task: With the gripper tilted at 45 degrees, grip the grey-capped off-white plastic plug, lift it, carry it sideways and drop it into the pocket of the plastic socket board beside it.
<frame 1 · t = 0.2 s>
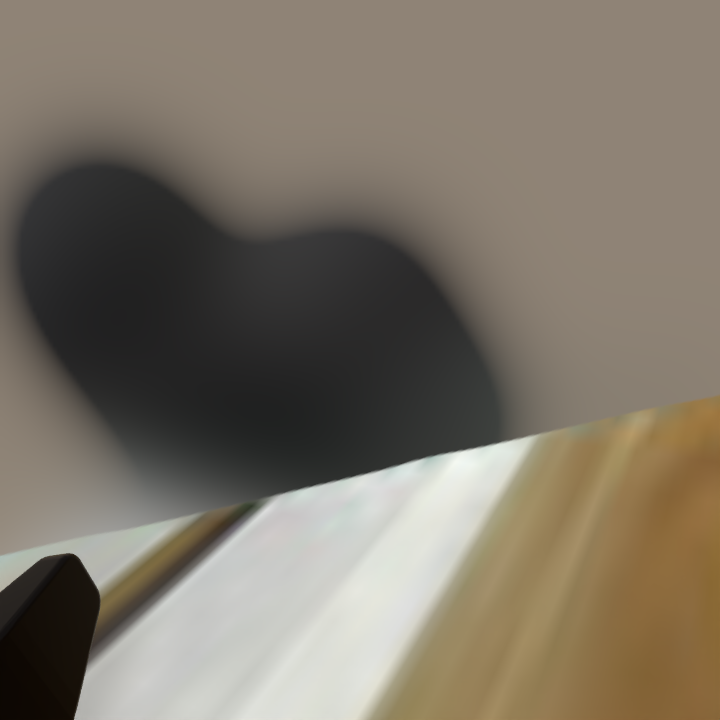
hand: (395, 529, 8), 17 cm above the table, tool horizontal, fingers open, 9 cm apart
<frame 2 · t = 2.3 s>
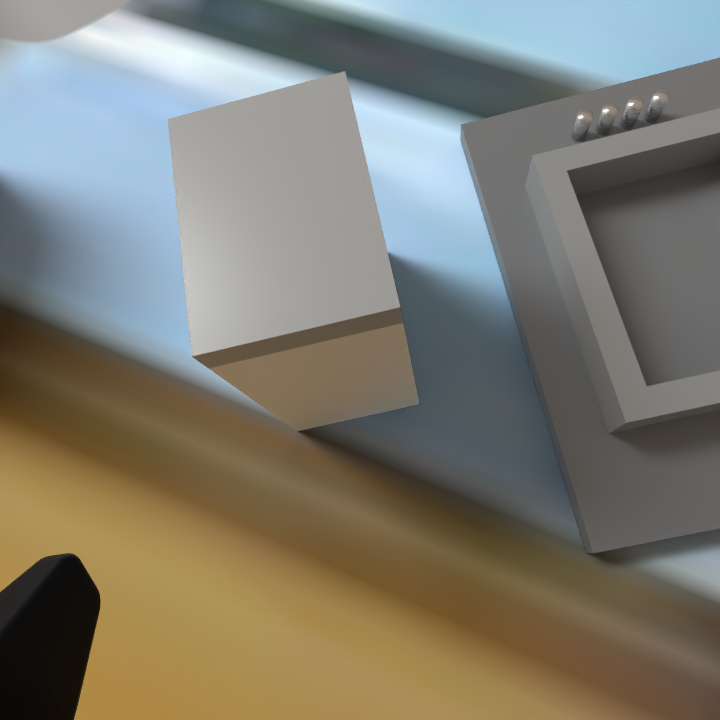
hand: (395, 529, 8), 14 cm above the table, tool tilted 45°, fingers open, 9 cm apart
plug: (342, 337, 24), on the table
socket board: (666, 285, 22), on the table
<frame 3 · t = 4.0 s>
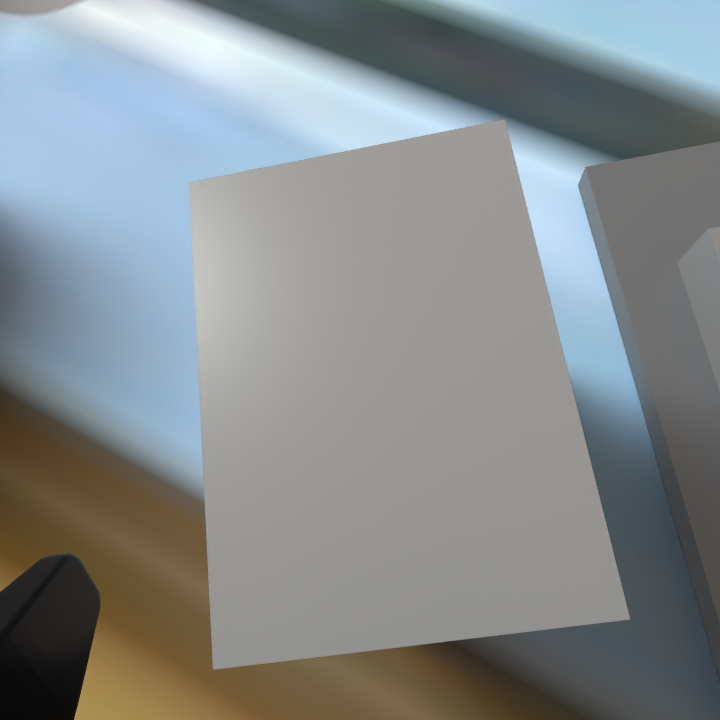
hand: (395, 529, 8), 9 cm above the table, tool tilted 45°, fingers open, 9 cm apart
plug: (409, 453, 17), on the table
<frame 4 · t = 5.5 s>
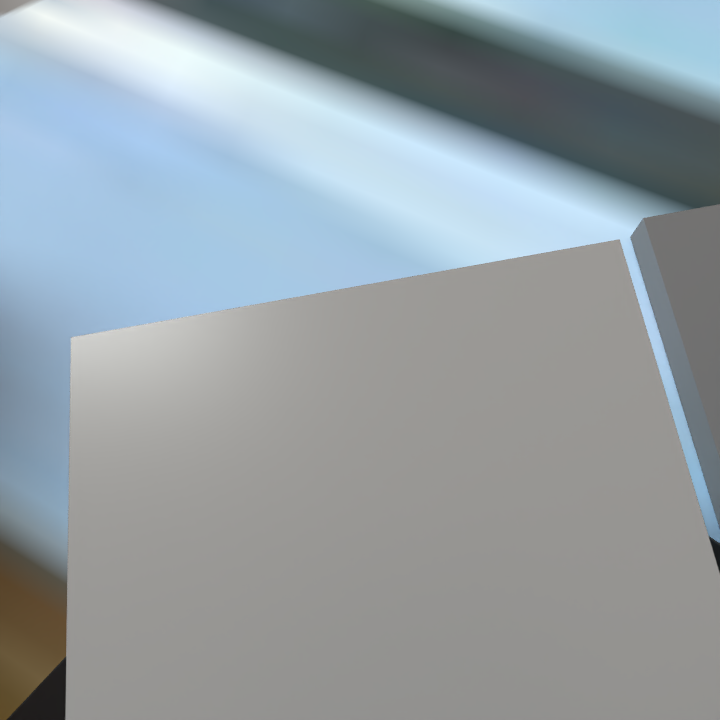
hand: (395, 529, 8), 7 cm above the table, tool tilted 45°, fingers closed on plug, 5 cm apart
plug: (422, 584, 14), on the table, touching gripper
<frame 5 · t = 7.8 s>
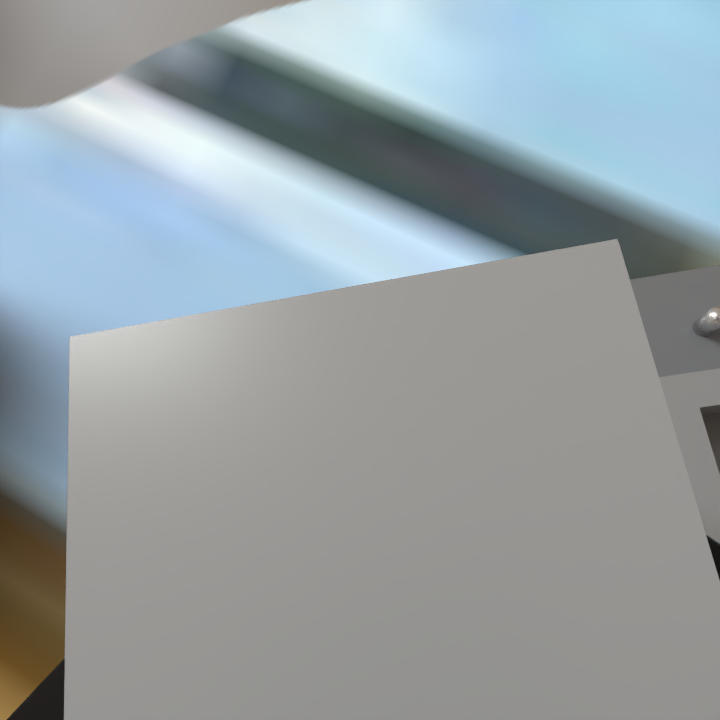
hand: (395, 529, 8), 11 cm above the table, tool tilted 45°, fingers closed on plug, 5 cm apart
plug: (422, 584, 14), point 5 cm above the table, touching gripper
when the fingers open (8 cm above the table, at t = 10.3 s): plug stays where it is, resting on socket board.
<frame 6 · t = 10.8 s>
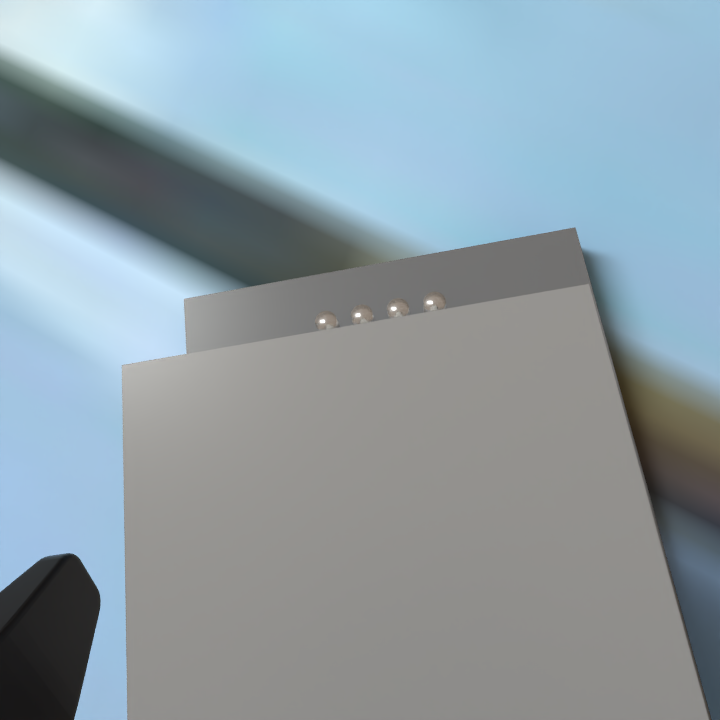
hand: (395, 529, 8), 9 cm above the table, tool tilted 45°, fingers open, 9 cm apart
plug: (422, 580, 14), point 1 cm above the table, touching socket board
socket board: (424, 576, 15), on the table
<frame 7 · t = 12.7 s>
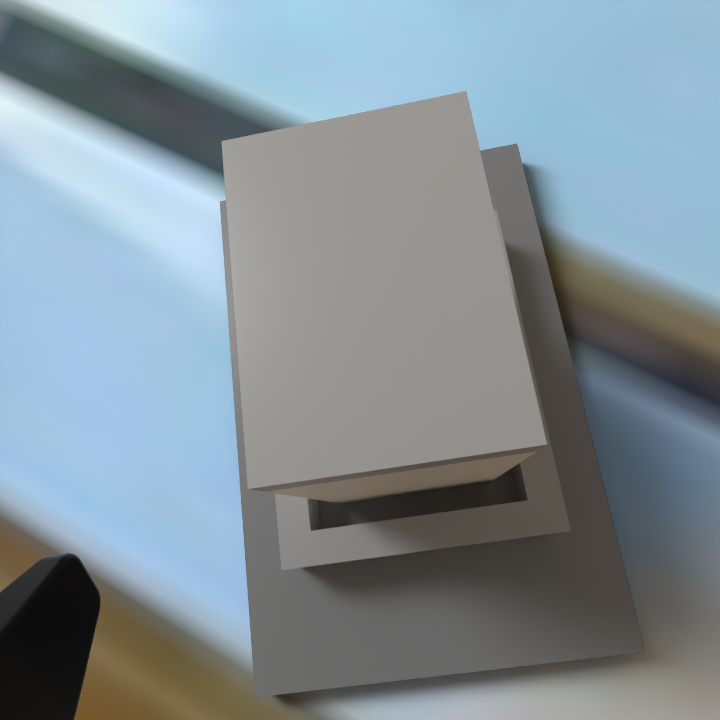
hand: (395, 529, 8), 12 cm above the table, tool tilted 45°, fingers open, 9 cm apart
plug: (399, 392, 20), point 1 cm above the table, touching socket board
socket board: (401, 397, 21), on the table
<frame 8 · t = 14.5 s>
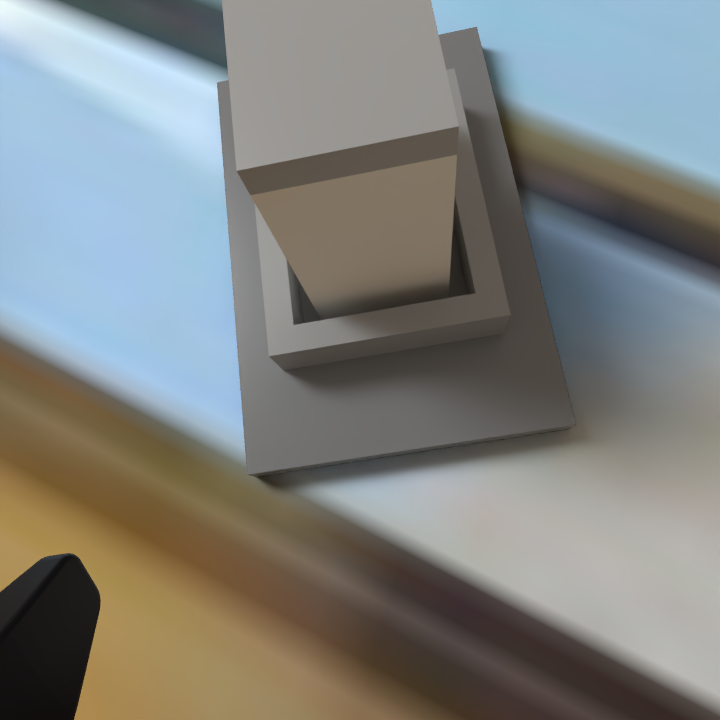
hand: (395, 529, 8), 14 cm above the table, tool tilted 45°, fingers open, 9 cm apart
plug: (371, 230, 23), point 1 cm above the table, touching socket board
socket board: (374, 242, 24), on the table
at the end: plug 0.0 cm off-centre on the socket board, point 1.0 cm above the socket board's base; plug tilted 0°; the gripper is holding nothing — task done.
